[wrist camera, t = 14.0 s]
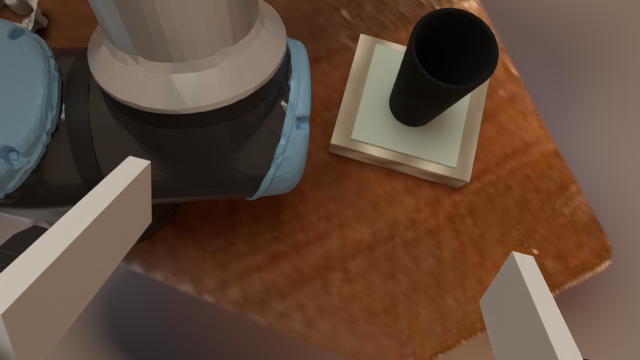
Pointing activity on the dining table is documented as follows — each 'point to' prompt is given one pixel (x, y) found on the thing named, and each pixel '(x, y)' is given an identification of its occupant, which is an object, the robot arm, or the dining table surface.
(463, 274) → the dining table surface
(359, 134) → the stand
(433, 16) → the cup
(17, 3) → the egg carton
